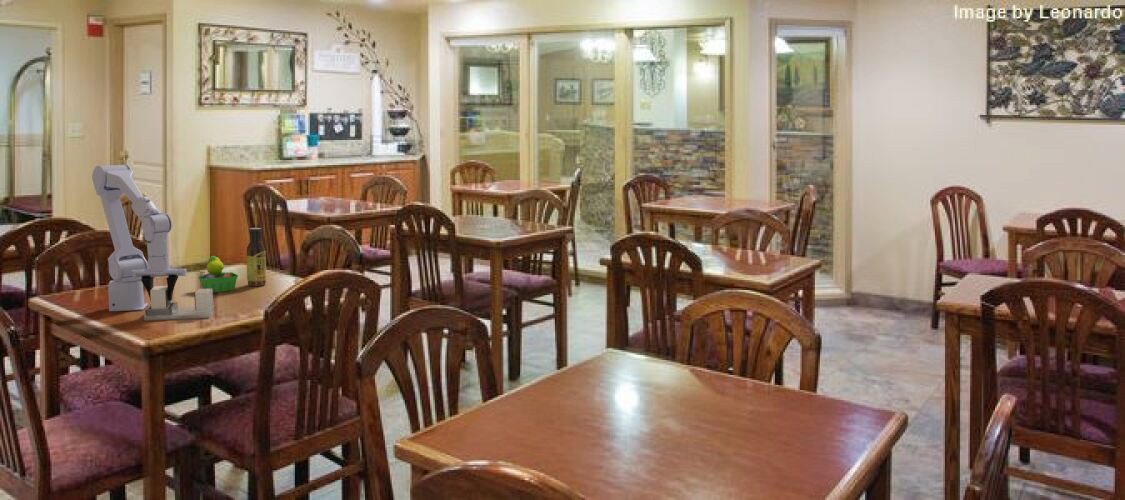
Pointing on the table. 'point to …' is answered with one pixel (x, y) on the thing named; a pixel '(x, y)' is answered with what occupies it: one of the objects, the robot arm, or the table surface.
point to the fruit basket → (217, 277)
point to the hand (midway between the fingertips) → (161, 300)
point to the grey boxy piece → (200, 310)
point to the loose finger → (159, 297)
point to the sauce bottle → (256, 259)
